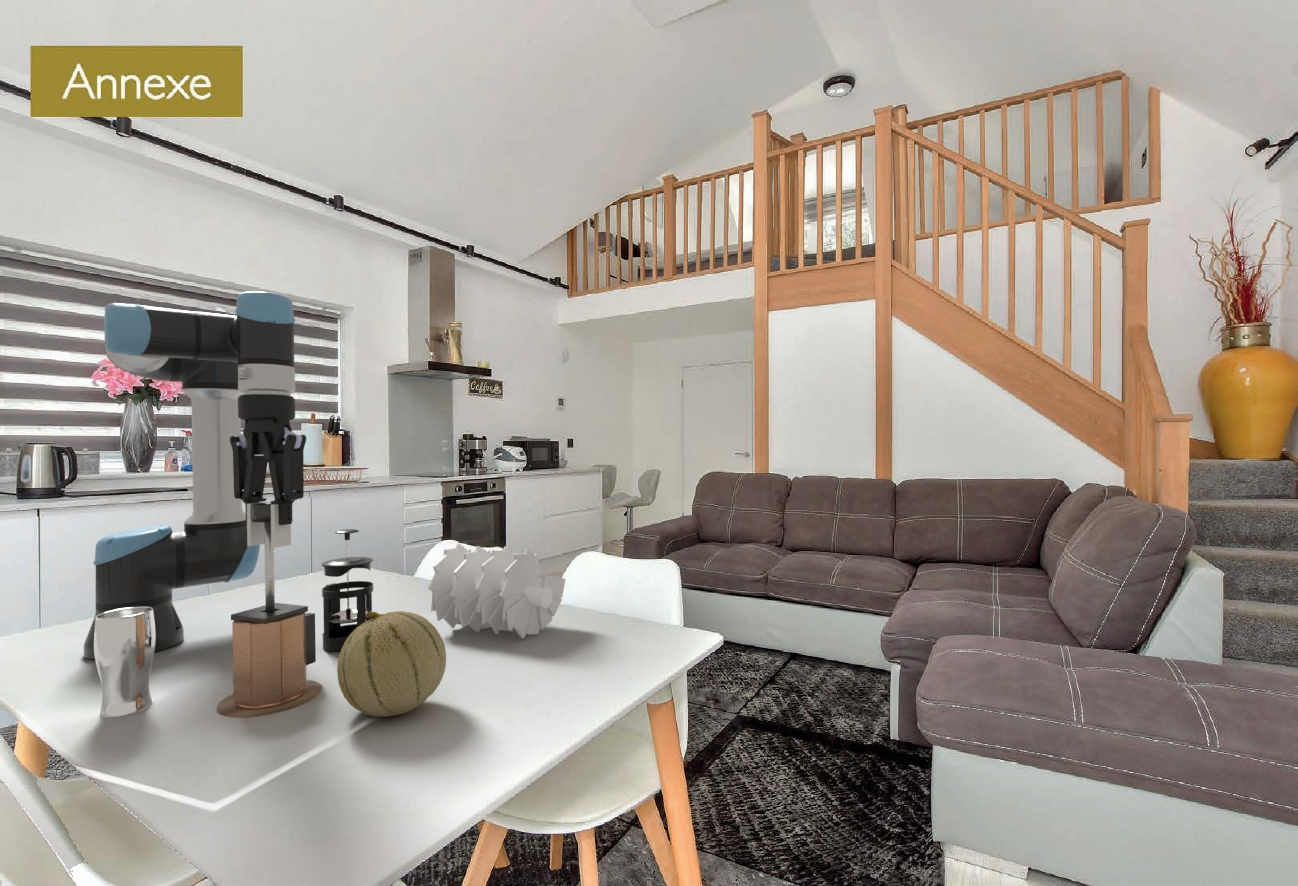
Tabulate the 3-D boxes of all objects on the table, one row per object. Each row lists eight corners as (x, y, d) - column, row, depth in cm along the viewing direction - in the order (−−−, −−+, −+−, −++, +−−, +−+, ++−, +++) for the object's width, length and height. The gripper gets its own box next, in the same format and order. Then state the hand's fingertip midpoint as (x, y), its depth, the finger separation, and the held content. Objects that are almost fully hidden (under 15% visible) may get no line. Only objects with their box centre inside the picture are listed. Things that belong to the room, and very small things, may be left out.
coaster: (193, 713, 90) (193, 709, 90) (279, 678, 103) (279, 675, 103) (261, 727, 85) (261, 723, 85) (343, 689, 98) (343, 685, 98)
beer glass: (105, 728, 86) (103, 621, 86) (87, 716, 89) (86, 614, 89) (164, 709, 92) (163, 609, 92) (145, 699, 95) (144, 603, 95)
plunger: (238, 642, 92) (235, 505, 92) (274, 630, 98) (272, 501, 98) (266, 646, 90) (264, 506, 90) (302, 634, 96) (300, 502, 96)
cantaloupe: (457, 718, 87) (455, 613, 87) (343, 746, 79) (341, 631, 79) (433, 684, 100) (432, 592, 100) (333, 705, 92) (331, 606, 92)
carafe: (220, 705, 91) (219, 616, 91) (292, 676, 103) (291, 596, 103) (265, 713, 88) (263, 621, 88) (333, 682, 99) (332, 600, 99)
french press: (387, 645, 120) (385, 528, 120) (341, 660, 112) (339, 534, 112) (352, 635, 126) (351, 524, 126) (306, 649, 118) (305, 530, 118)
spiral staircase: (532, 664, 120) (434, 642, 129) (575, 605, 134) (483, 589, 144) (510, 589, 112) (407, 573, 122) (558, 535, 126) (462, 524, 136)
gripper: (203, 395, 94) (205, 547, 94) (286, 390, 88) (288, 552, 88) (250, 398, 101) (252, 539, 101) (329, 393, 95) (332, 544, 95)
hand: (269, 545), depth 94 cm, fingers closed on plunger, 4 cm apart
